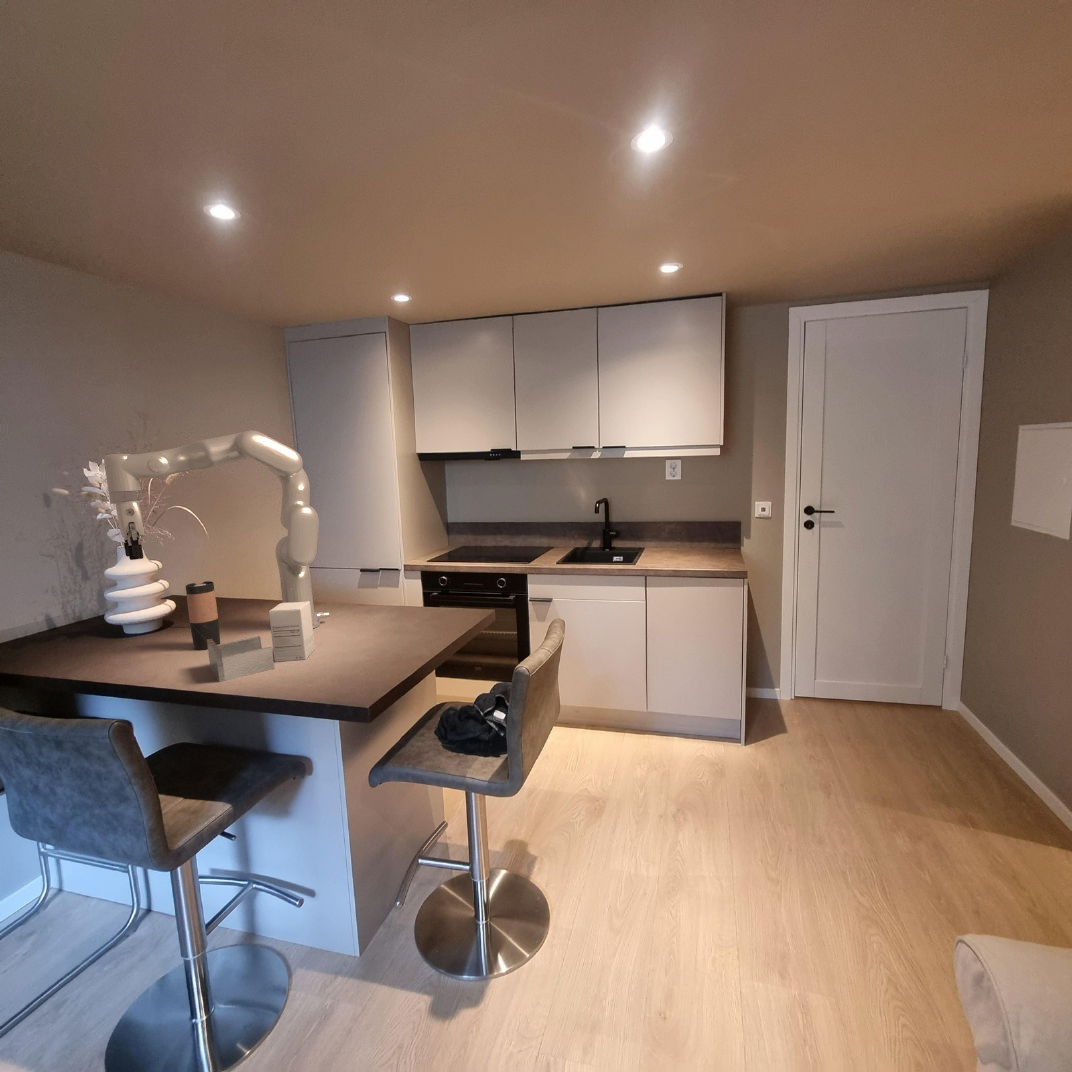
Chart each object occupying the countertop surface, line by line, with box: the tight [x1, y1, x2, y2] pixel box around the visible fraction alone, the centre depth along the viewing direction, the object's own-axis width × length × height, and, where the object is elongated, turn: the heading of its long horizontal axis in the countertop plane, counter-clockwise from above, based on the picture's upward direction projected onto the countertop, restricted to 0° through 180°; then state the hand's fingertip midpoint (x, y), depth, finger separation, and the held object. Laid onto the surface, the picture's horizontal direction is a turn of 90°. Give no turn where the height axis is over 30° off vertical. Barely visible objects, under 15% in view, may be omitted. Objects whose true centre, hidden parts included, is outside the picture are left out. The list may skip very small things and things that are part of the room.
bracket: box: [207, 635, 275, 683], centre depth 155 cm, size 13×14×8 cm
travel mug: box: [185, 581, 221, 651], centre depth 175 cm, size 8×8×20 cm
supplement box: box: [268, 601, 316, 663], centre depth 163 cm, size 9×9×15 cm
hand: (134, 557), depth 162 cm, fingers open, 9 cm apart
